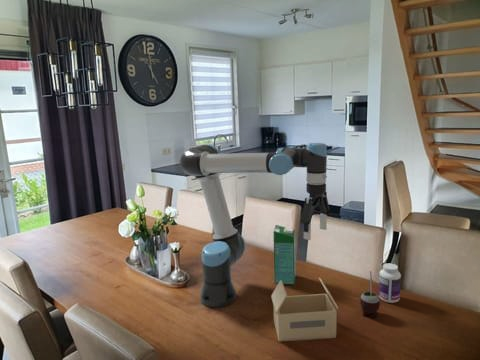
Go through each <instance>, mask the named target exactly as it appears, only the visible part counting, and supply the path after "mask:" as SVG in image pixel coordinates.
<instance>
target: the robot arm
mask: <svg viewBox="0 0 480 360" xmlns="http://www.w3.org/2000/svg"><path fill="white" fill-rule="evenodd" d="M327 151H328V150H327V145H326V144H325V143H322V142H309V143H307V145H306V147H304V148H302V147H301V148H299V147H279V148H277V150H276V152H251V153H249V152H246V153H243V152H241V153H239V152H238V153H237V152H236V153H233V152H232V153H221V152H220V151H219V149H218V148H217V147H216V146H214V145H212V144H200V145H198V146H195V147H191V148H188V149H186V150H185V151H183V153H182V154H181V156H180V160H179V167H180V168H181V170H182V171H183V173H185V174H186V175H188V176H189V177H191V176H192V177H194V178H195V180H197V181H198V182H199V183H200V187H201V189H202V192H203V193H202V194H203V196H204V199H205V203H206V207H207V210H208V213H209V217H210V220H211V224H212V228H213V231H214V233H213V236H212V240H213V241H212V242H209V243H207V244H205V246H203V248H202V250H201V265H202V277H203V283H202V287H201V290H200V294H199V295H200V302H201V304H203V305H204V306H205V307H210V308H216V309H218V308H223V307H228V306H230V305H232V304H233V303H234V302H235V301H236V299H237V292H236V289H235V286H234V284H233V281H232V272H231V270H232V269H231V268H232V267H233V265H234V264H235V263H236V262H237V261H238V260H239V259H240V258H241V257H242V256H243V255H244V253H245V250H246V241H245V239H244V237H243V236H242V235H240V233H239V231H238V229H237V228H235V227H234V226H233V221H232V218H231V215H230V211H229V208H228V204H227V200H226V196H225V194H224V190H223V187H222V183H221V179H220V175H221V174H275V175H276V176H283V175H286V174H289V172H290V171H291V170H293V168H306V182H307V183H306V186H305V187H306V193H308V194H309V196H308V197H305V198H304V205H303V210H302V212H301V217H300V220H299V221H300V222H299V223H300V224H303V239H304V240H306V241H307V240H308V241H311V239H312V234H311V233H312V232H311V231H312V228H311V227H312V224H311V221H312V218H313V215H314V212H315V210H316V209H317V207H318V209H319V211H320V214H319V230H324V231H327V226H328V225H327V224H328V222H327V221H328V215H330V211H331V209H330V205H329V199H328V197H327V196H328V195H327V194H328V193H327V183H326V182H327V178H328V175H327V166H328V165H327V164H328V163H327V162H328V159H327V158H328V154H327Z"/></svg>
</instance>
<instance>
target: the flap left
mask: <svg viewBox="0 0 480 360" xmlns="http://www.w3.org/2000/svg"><path fill="white" fill-rule="evenodd" d="M287 294H288V293H287V291H286V289H285V286H284V284H283V283H282V280H280V282H279V283H277V285H276V287H275V289H274V290H273V292H272V293H271V295H270V297H271V300H272V301H271V302H272V305H273V310H274V309H275V313H277V312H278V310H279V309H280V307H281V305H282V303H283V302H284V300H285V298H286V297H287V296H288V295H287Z"/></svg>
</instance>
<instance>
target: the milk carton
mask: <svg viewBox="0 0 480 360" xmlns="http://www.w3.org/2000/svg"><path fill="white" fill-rule="evenodd" d="M273 268H274V269H273V271H274V284H278V283H279V282H280V280H282V283H283V285H284V284H285V285H295V283H296V274H297V273H296V271H297V270H296V268H297V267H296V230H295V229H294V228H293V229H292V228H290V227H288V226H287V227H285V226H282V225H279V224H276V225H275V226H274V228H273Z"/></svg>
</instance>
